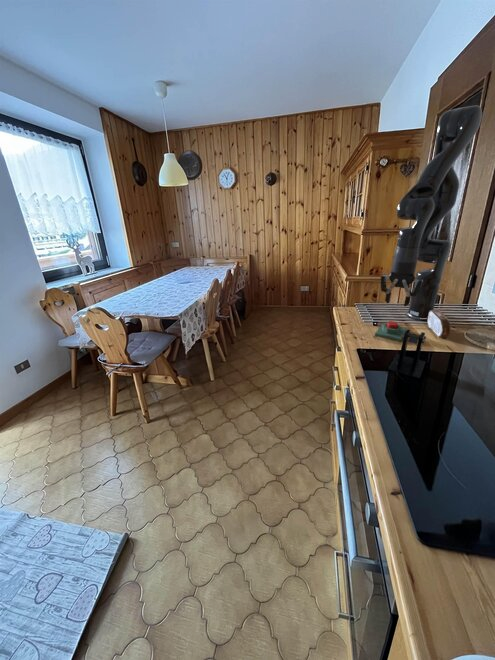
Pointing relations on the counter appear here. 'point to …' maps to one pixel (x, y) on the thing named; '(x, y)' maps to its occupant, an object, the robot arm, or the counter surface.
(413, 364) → the bracket
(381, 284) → the robot arm
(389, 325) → the button
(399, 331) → the button box
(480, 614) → the counter surface
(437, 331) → the white and brown slab
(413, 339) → the lever
